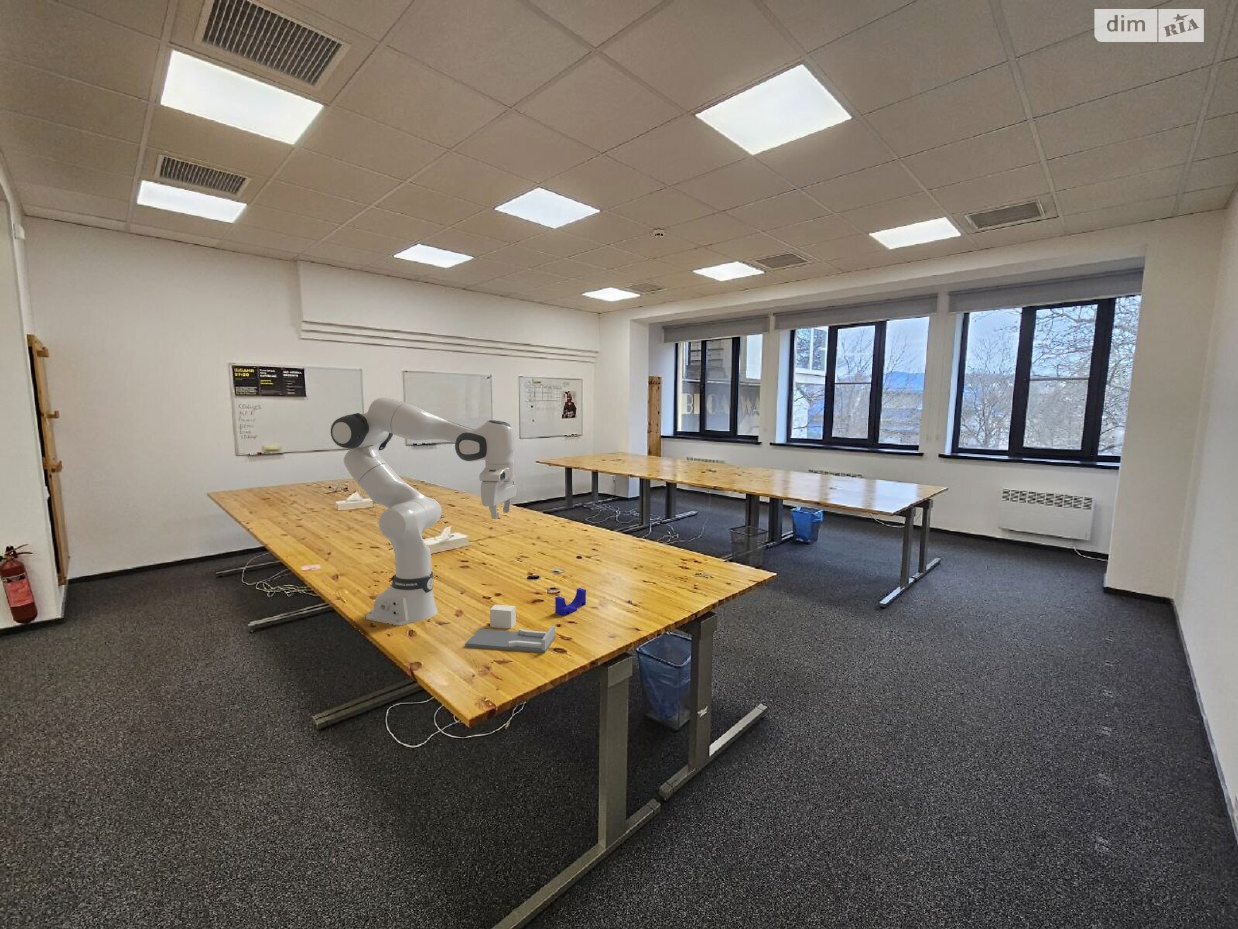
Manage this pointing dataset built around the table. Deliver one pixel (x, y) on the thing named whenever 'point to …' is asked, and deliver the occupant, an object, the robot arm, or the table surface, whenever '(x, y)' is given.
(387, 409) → the robot arm
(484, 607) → the table surface
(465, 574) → the table surface
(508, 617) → the panel block
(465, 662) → the table surface
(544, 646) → the mounting plate
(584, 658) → the table surface
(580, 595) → the cable clip
